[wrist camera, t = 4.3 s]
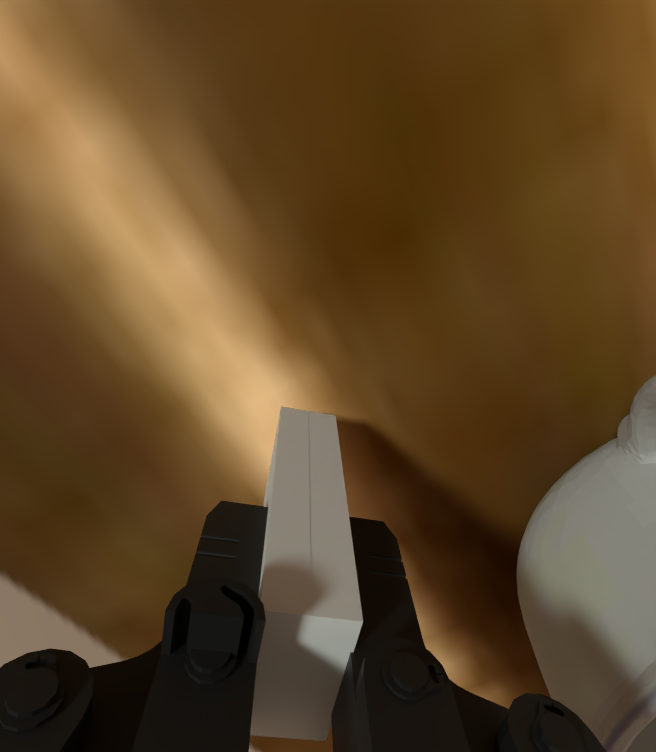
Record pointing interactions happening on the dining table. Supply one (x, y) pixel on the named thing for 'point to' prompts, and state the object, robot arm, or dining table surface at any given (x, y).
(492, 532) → the dining table surface
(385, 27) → the dining table surface
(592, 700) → the teacup
